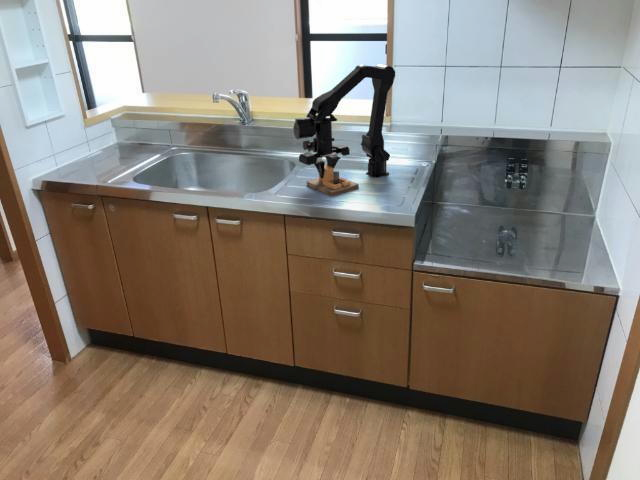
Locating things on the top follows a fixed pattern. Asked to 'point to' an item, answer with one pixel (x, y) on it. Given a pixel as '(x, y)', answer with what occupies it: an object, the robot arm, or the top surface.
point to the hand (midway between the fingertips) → (325, 177)
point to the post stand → (327, 190)
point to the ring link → (329, 178)
